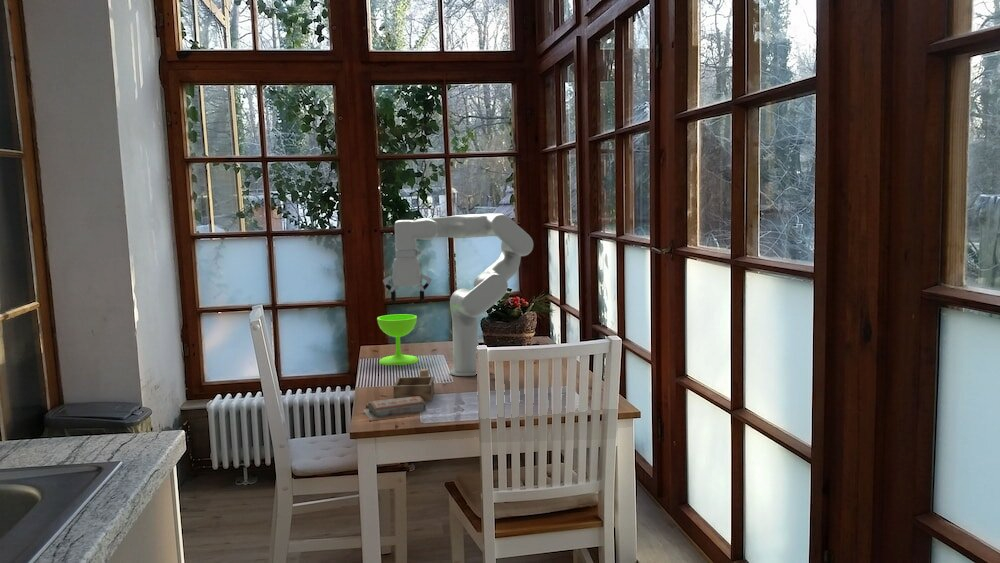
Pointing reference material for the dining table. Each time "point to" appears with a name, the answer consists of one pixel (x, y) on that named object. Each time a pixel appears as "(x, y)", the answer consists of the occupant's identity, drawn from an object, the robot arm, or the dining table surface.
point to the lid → (424, 373)
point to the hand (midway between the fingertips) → (407, 302)
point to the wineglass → (397, 336)
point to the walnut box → (414, 387)
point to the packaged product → (394, 407)
